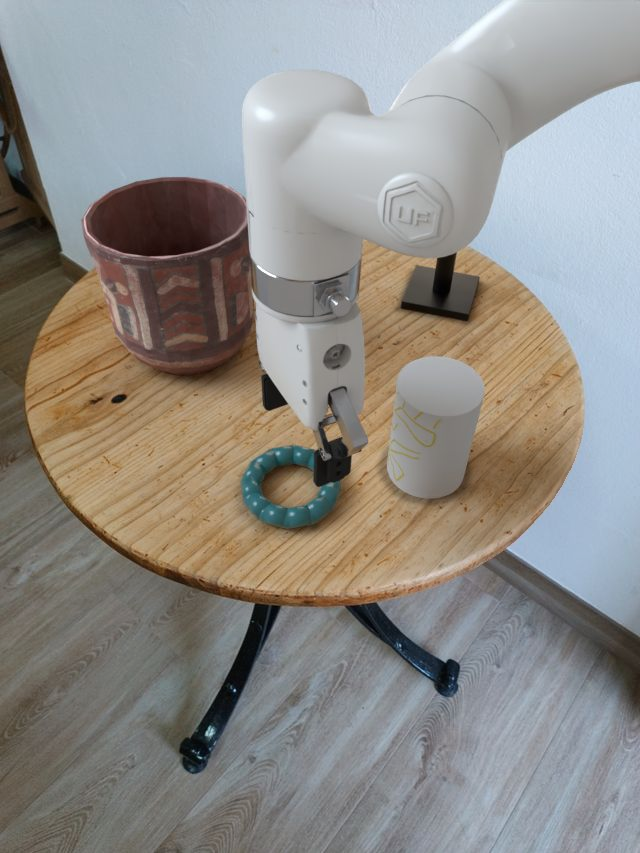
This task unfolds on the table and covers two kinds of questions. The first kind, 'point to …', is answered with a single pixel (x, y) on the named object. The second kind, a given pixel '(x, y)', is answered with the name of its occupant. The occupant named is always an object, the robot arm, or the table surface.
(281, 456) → the ring
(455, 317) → the peg stand
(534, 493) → the table surface
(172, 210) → the pottery
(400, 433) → the grey cylinder
